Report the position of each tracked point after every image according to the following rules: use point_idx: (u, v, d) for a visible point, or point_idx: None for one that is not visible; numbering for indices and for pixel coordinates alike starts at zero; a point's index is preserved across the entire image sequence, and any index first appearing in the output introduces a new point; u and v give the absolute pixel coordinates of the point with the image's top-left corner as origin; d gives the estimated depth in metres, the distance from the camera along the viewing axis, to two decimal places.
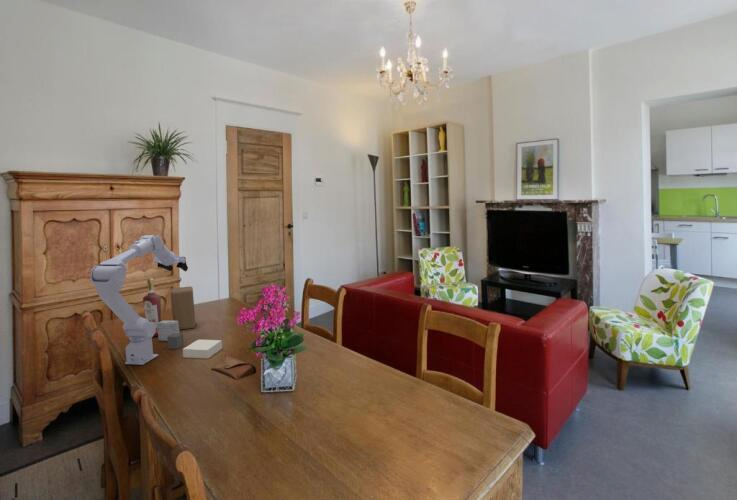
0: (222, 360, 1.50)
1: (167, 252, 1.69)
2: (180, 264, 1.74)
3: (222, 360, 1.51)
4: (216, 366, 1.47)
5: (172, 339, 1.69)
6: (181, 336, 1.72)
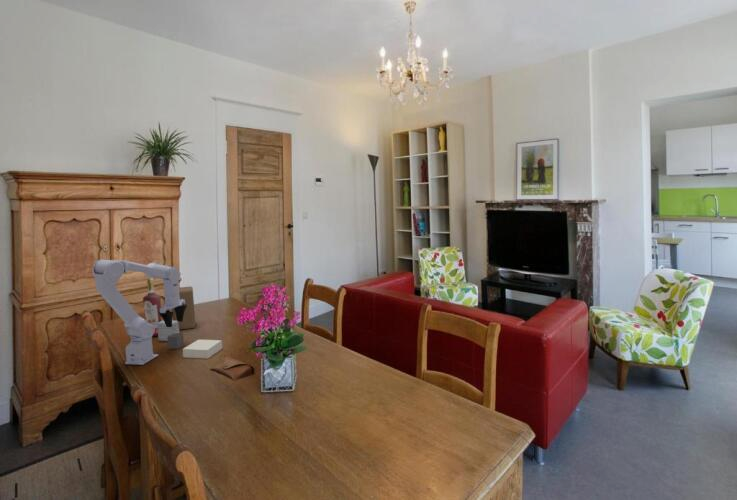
0: (221, 360, 1.50)
1: (175, 292, 1.67)
2: None
3: (221, 360, 1.50)
4: (215, 366, 1.47)
5: (172, 339, 1.69)
6: (181, 336, 1.72)
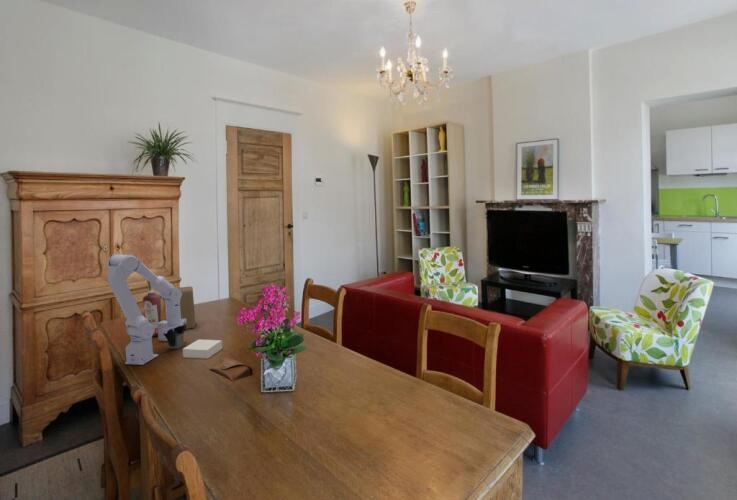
0: (221, 360, 1.50)
1: (177, 312, 1.69)
2: None
3: (220, 360, 1.50)
4: (214, 366, 1.47)
5: None
6: (181, 336, 1.72)
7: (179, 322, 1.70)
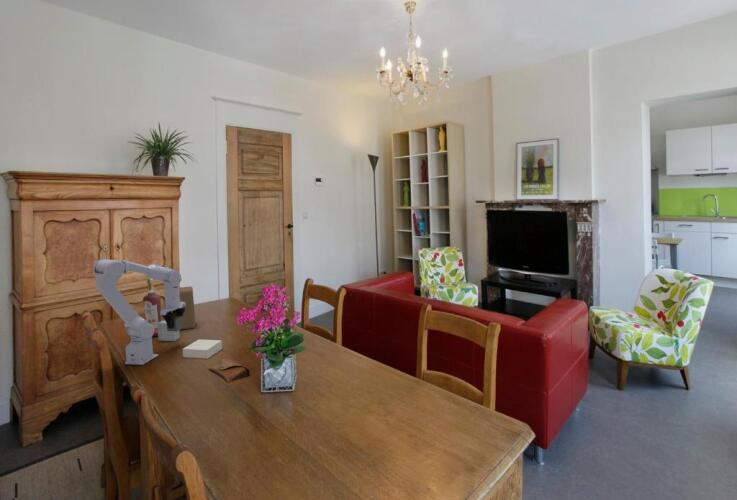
0: (220, 361, 1.50)
1: (176, 294, 1.67)
2: None
3: (219, 360, 1.50)
4: (213, 367, 1.47)
5: None
6: (180, 318, 1.71)
7: (178, 304, 1.69)
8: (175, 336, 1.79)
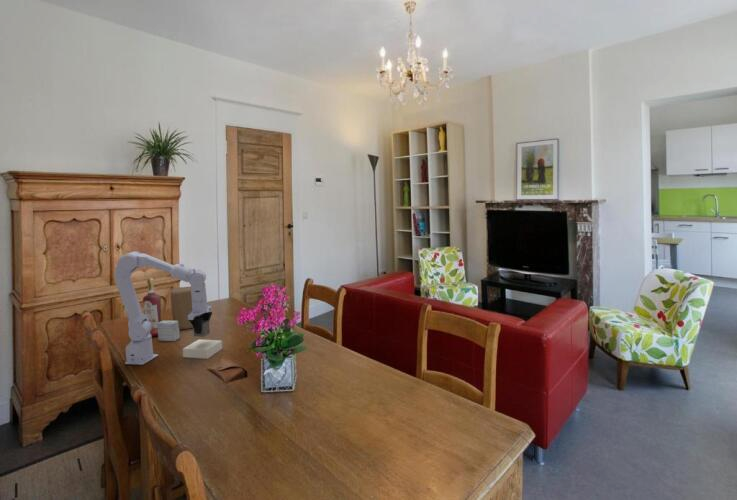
0: (219, 361, 1.49)
1: (198, 299, 1.59)
2: None
3: (219, 361, 1.50)
4: (212, 367, 1.47)
5: None
6: (207, 323, 1.64)
7: (205, 308, 1.61)
8: (175, 336, 1.79)
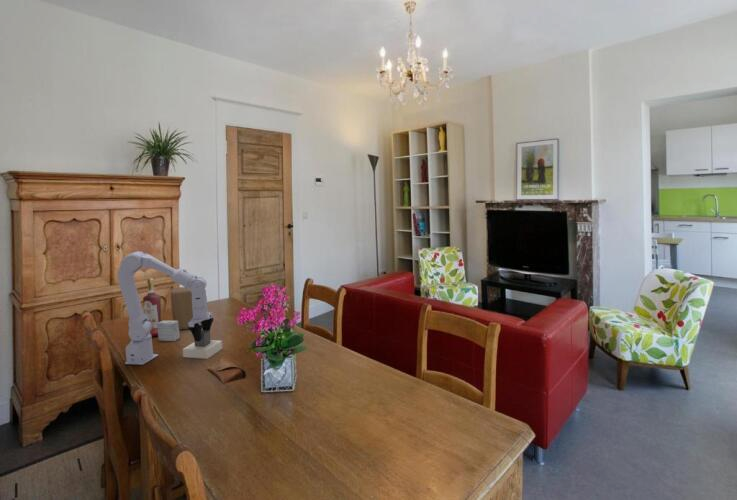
0: (218, 361, 1.49)
1: (198, 306, 1.59)
2: None
3: (218, 361, 1.50)
4: (211, 367, 1.47)
5: None
6: (208, 333, 1.64)
7: (206, 315, 1.62)
8: (175, 336, 1.79)
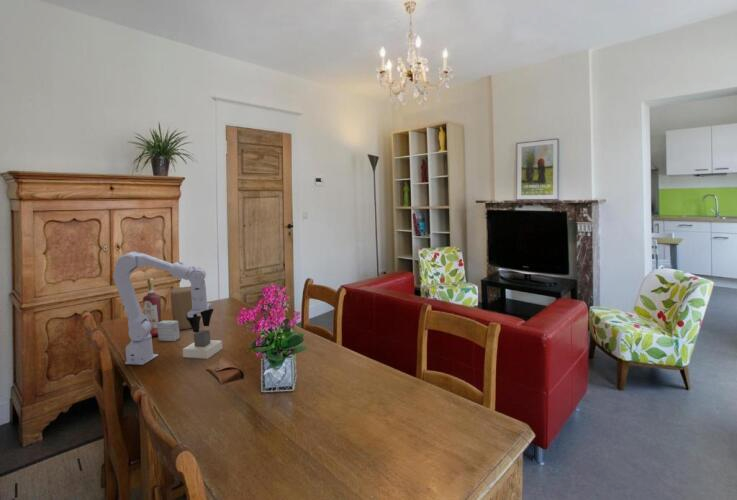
0: (218, 361, 1.49)
1: (197, 296, 1.59)
2: None
3: (218, 361, 1.50)
4: (210, 367, 1.47)
5: (199, 336, 1.61)
6: (208, 333, 1.64)
7: (205, 306, 1.61)
8: (175, 336, 1.79)
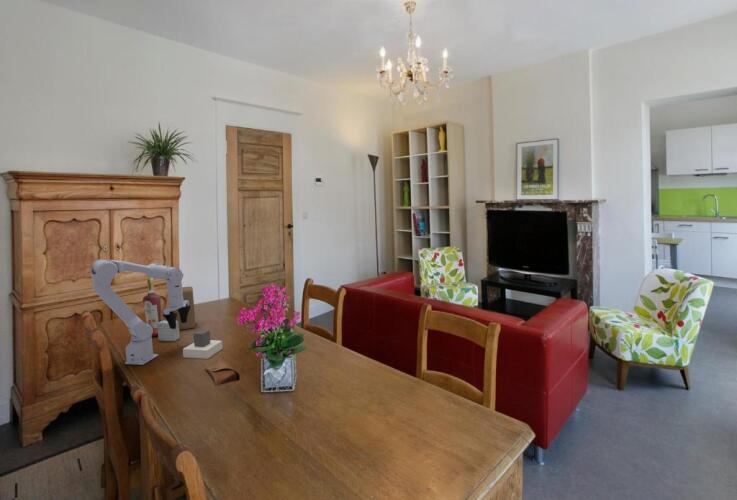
0: (216, 362, 1.49)
1: (177, 293, 1.64)
2: None
3: (216, 361, 1.49)
4: (208, 367, 1.47)
5: (199, 336, 1.62)
6: (208, 333, 1.64)
7: (181, 303, 1.66)
8: (175, 336, 1.79)
